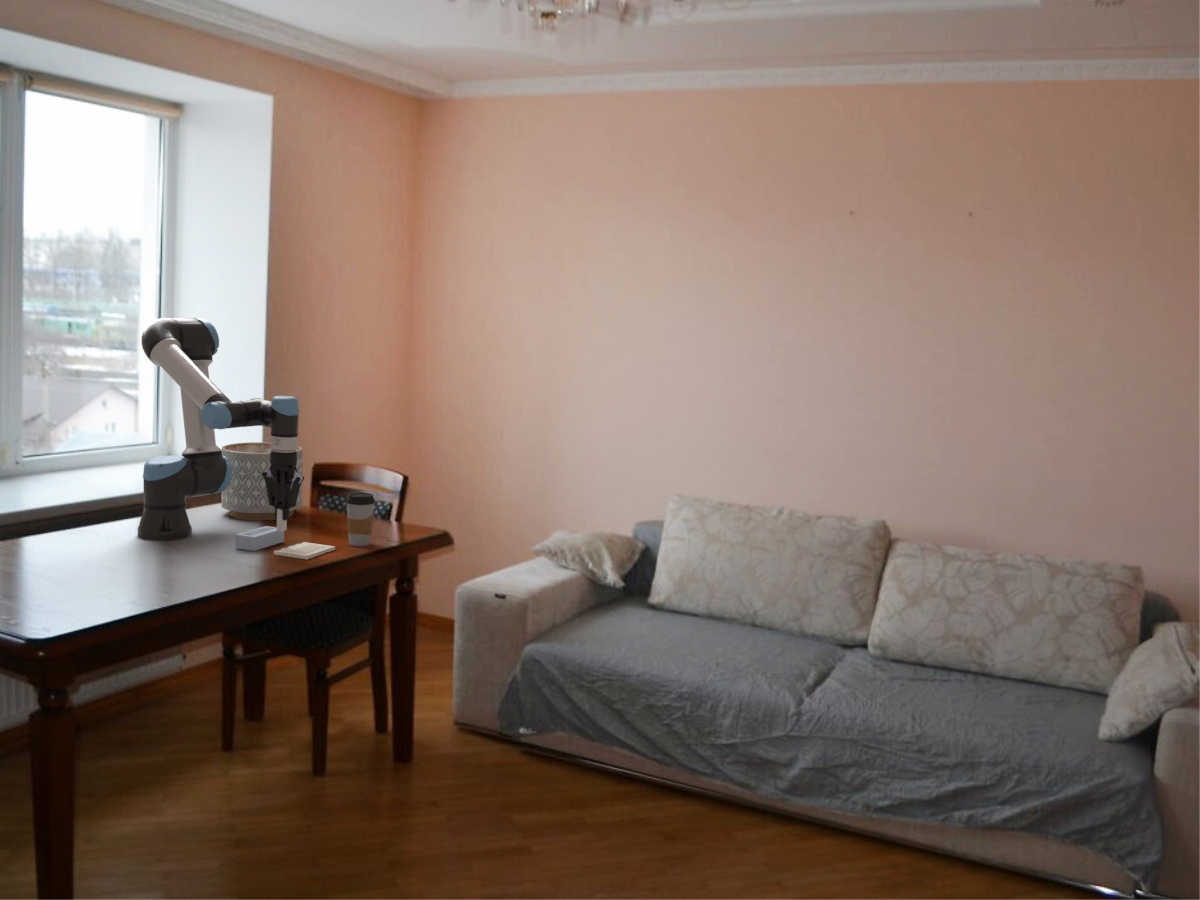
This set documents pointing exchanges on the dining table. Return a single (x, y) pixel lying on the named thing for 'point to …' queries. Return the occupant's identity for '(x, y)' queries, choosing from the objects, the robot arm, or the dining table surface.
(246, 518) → the planter
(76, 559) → the dining table surface
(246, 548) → the grey slotted block
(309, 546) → the cream rectangular plate
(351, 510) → the coffee cup
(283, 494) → the robot arm
